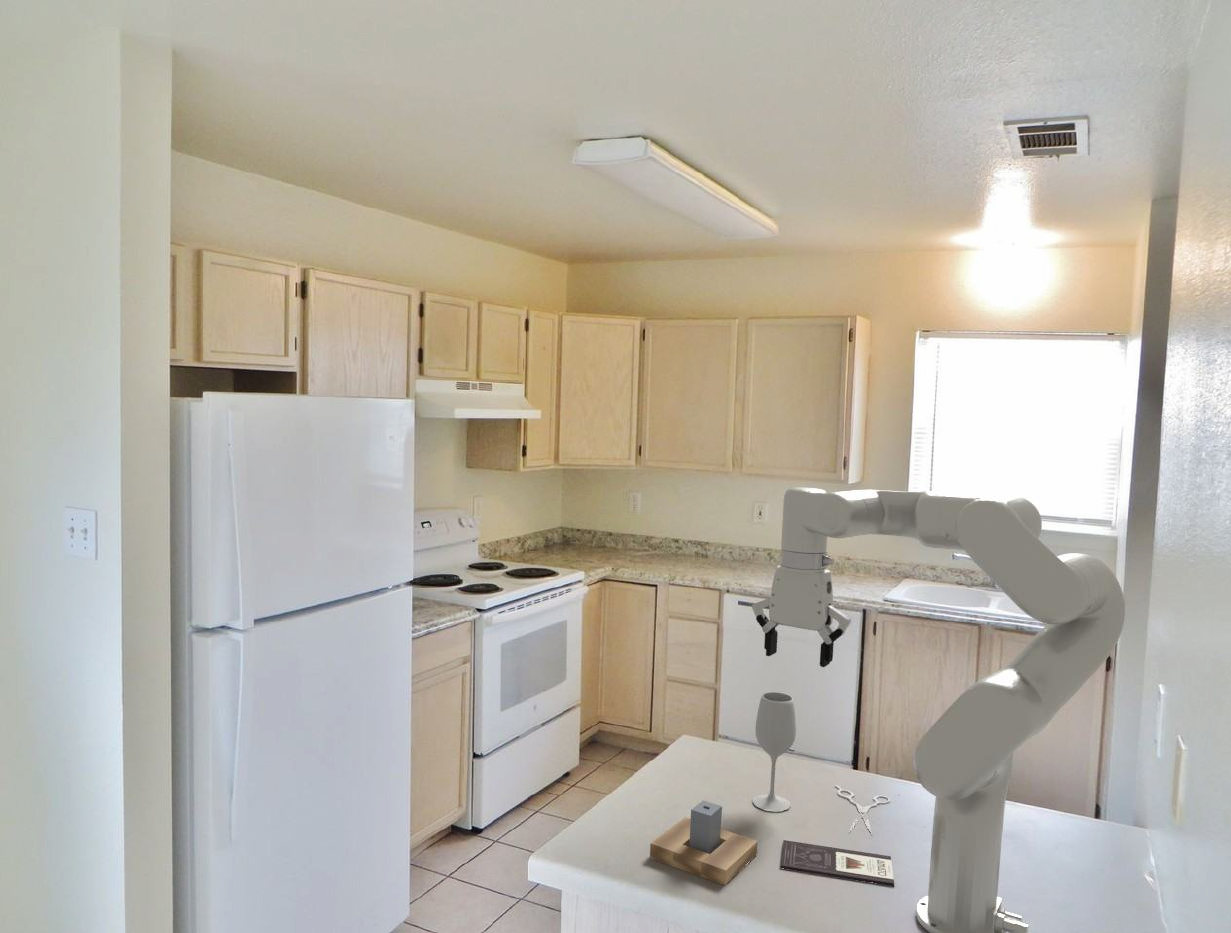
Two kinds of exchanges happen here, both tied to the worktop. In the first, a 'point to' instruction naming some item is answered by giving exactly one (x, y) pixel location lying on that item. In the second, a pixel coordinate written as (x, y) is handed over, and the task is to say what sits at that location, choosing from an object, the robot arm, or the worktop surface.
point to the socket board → (703, 853)
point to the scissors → (860, 808)
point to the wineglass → (775, 739)
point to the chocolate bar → (837, 863)
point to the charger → (705, 827)
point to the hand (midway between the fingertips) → (797, 659)
